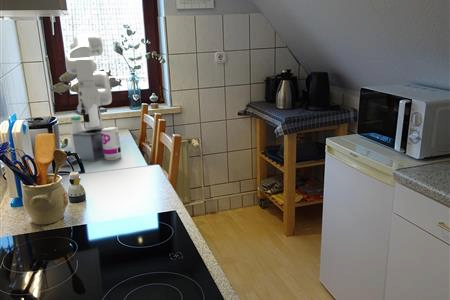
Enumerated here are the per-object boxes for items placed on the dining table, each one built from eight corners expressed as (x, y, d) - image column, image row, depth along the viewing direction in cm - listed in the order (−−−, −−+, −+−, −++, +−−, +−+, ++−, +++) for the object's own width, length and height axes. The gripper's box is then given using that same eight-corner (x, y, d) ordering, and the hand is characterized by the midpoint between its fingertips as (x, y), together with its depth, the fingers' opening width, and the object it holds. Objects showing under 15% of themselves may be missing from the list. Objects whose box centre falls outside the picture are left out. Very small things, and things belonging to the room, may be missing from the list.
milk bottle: (86, 155, 205) (80, 117, 200) (71, 156, 205) (65, 118, 200) (91, 152, 212) (85, 114, 208) (77, 152, 213) (71, 115, 208)
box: (76, 159, 198) (72, 134, 195) (99, 151, 212) (96, 127, 209) (94, 161, 193) (90, 134, 190) (117, 153, 207) (113, 128, 204)
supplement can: (111, 161, 191) (107, 130, 187) (101, 159, 196) (96, 129, 192) (125, 157, 197) (121, 127, 193) (114, 155, 202) (110, 126, 198)
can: (102, 125, 201) (98, 101, 198) (95, 127, 195) (92, 103, 192) (90, 125, 203) (87, 102, 200) (83, 128, 196) (80, 103, 194)
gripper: (78, 86, 185) (84, 124, 189) (105, 82, 199) (110, 118, 204) (67, 86, 188) (73, 123, 192) (94, 82, 203) (99, 117, 207)
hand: (92, 120), depth 198 cm, fingers closed on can, 6 cm apart
